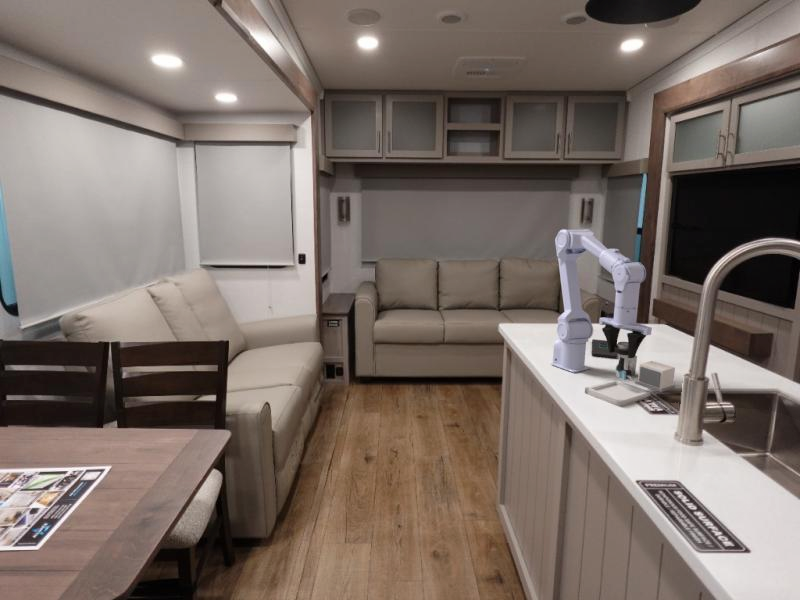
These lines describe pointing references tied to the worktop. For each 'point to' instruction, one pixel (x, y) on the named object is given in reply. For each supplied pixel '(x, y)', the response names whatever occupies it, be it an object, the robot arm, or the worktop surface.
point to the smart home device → (602, 349)
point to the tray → (617, 392)
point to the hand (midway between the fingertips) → (621, 354)
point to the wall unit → (656, 376)
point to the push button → (623, 361)
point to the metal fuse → (632, 365)
